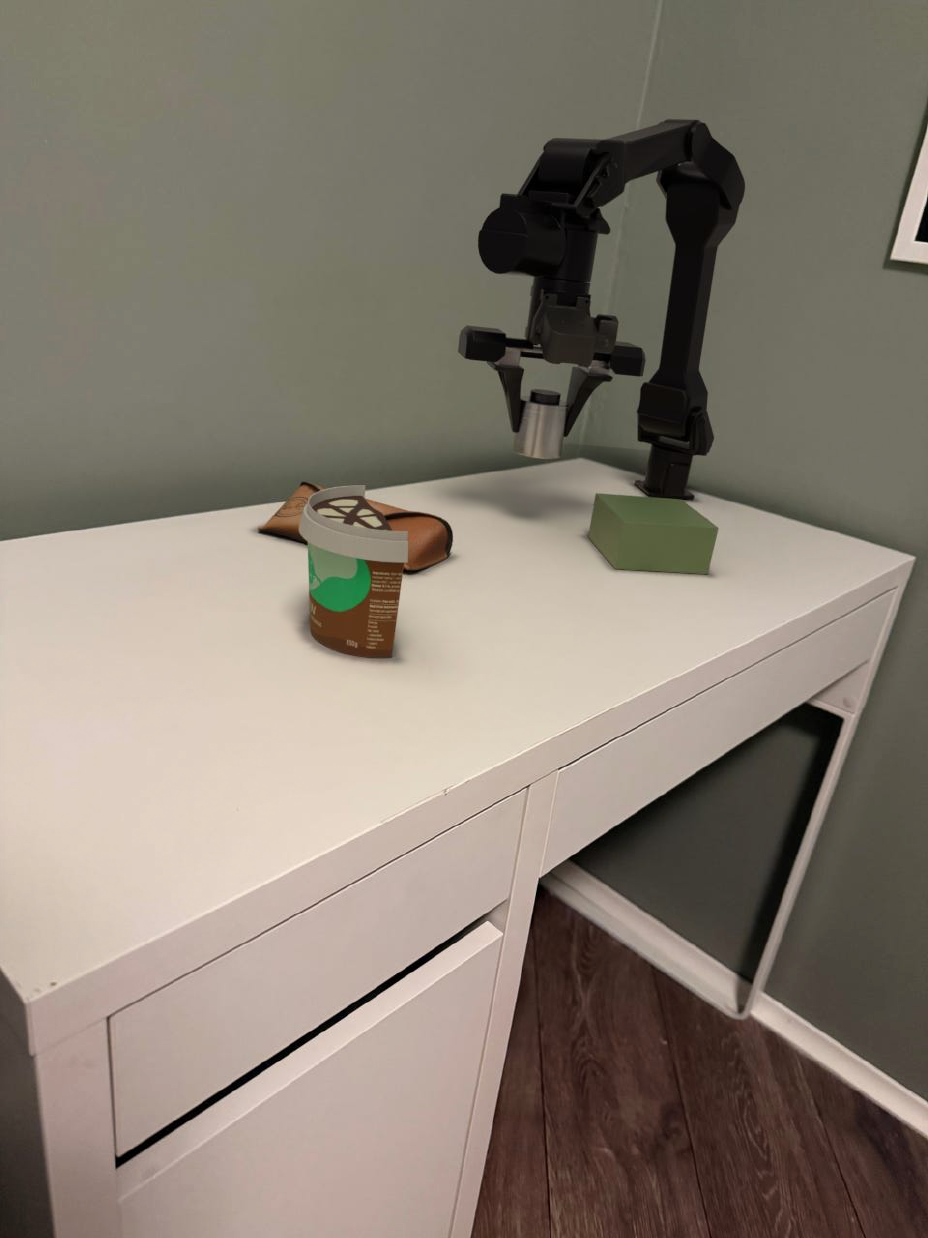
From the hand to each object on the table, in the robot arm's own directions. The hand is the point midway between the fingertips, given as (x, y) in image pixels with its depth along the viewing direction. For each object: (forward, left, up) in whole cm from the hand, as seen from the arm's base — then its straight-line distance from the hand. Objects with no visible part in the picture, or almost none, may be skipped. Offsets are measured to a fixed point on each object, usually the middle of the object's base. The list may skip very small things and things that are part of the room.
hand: (539, 434), depth 95 cm
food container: (+31, -22, -10) cm, 39 cm away
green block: (+8, +11, -10) cm, 17 cm away
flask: (0, 0, -2) cm, 2 cm away
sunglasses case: (+10, -20, -10) cm, 24 cm away
